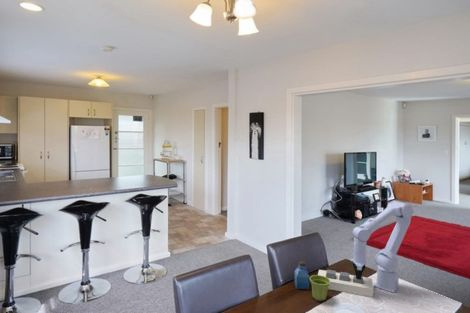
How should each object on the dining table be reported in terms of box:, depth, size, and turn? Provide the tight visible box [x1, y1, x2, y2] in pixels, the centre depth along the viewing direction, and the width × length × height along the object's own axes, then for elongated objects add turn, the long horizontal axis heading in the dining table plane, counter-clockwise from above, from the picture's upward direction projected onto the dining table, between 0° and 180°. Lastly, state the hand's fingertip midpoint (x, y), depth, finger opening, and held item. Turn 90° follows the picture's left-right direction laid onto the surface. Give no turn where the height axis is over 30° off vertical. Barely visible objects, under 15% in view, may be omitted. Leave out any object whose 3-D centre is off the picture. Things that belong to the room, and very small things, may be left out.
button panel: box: [317, 269, 374, 298], centre depth 154 cm, size 26×12×4 cm, turn 69°
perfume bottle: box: [293, 260, 311, 290], centre depth 153 cm, size 6×6×12 cm
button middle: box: [339, 271, 350, 282], centre depth 154 cm, size 4×4×4 cm
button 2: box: [353, 275, 364, 284], centre depth 151 cm, size 4×4×4 cm
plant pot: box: [309, 274, 331, 302], centre depth 142 cm, size 9×9×9 cm
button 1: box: [326, 269, 337, 279], centre depth 156 cm, size 4×4×4 cm
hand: (358, 278), depth 151 cm, fingers closed, pressing on button 2
